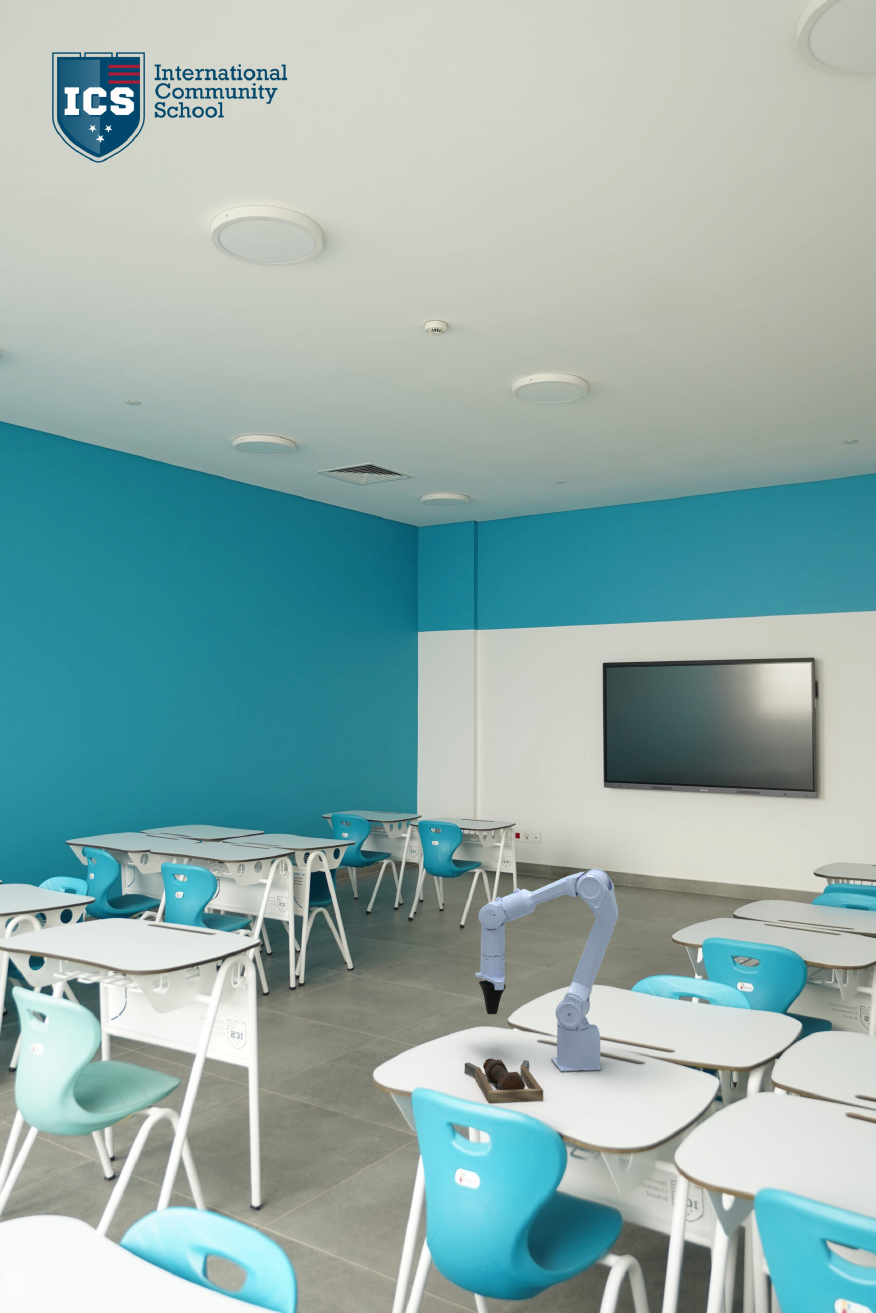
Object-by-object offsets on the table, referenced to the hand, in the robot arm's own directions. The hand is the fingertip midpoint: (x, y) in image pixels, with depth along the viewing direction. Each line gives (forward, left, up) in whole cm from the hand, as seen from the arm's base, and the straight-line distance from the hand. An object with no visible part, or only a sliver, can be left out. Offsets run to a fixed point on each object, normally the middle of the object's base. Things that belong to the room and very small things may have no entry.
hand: (491, 1013), depth 222 cm
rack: (+1, +19, -9) cm, 21 cm away
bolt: (+2, +19, -10) cm, 22 cm away
